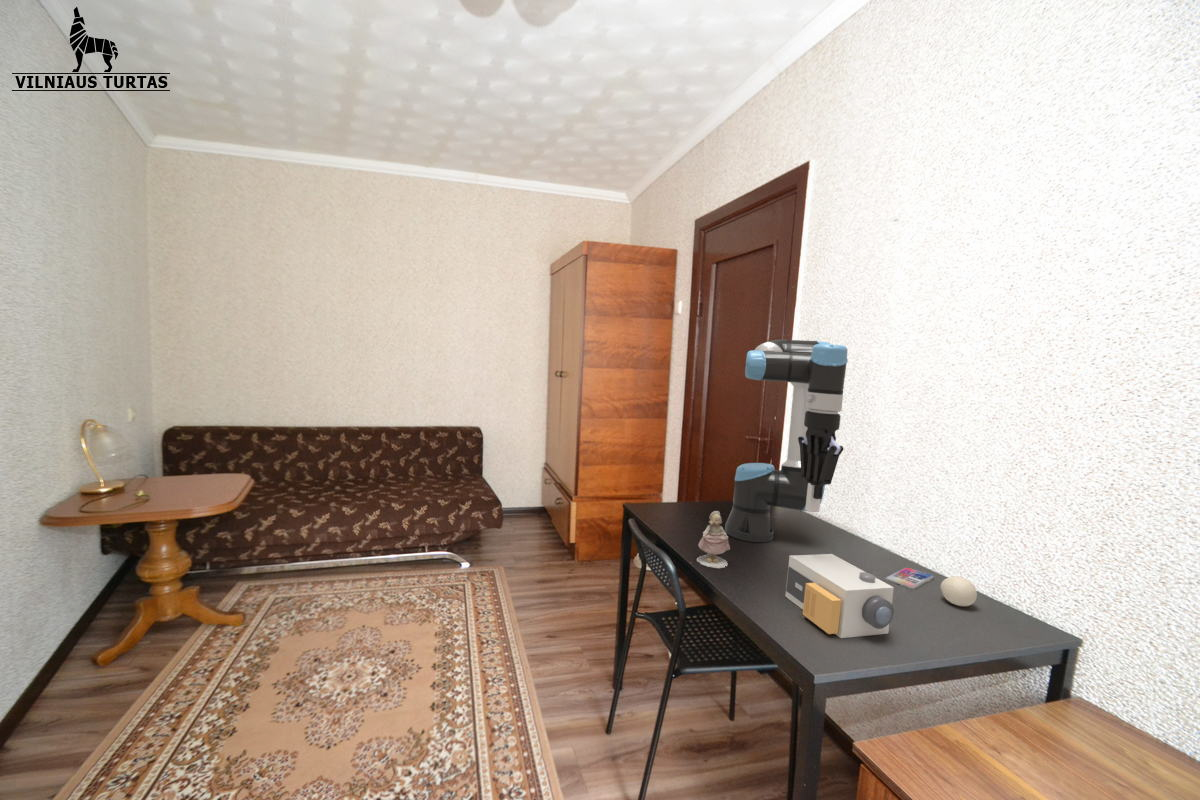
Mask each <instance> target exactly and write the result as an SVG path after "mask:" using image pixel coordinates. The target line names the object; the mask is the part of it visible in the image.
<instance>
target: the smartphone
mask: <svg viewBox="0 0 1200 800" xmlns="http://www.w3.org/2000/svg"><path fill="white" fill-rule="evenodd" d="M934 578H935V577H934V575H932V574H929V573H926V572H924V571H921V570H917V569H914V568H910V567H904V568H902V569H900V570H897V571H896V572H894V573H892V574H890V575H887V576H886V577H885V578H884V580H885V581H887V582H890V583H892V584H895V585H899V586H901V587H904V588H906V589H908V590H916V589H918V588H920V587H921V586H923V585H925V584H927V583H929V582H930V581H932V580H934Z"/></svg>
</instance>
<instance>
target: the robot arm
mask: <svg viewBox="0 0 1200 800" xmlns="http://www.w3.org/2000/svg"><path fill="white" fill-rule="evenodd" d="M848 362H849V361H848V348H847V346H845V345H844V344H843V345H841V344H831V343H830V342H829V341H828V342H827V341H819V340H803V339H801V340H800V339H798V340H797V339H774V340H769V341H766V342H762V343H761V344H759V345H757V346H756V347H755V349H754V350H749V351H747V353H746V360H745V369H744V376H745V377H746V378H747V379H749V380H756V381H770V382H771V381H772V382H773V381H774V382H786V383H790V384H791V385H792V386H793V392H792V402H791V412H790V423H789V424H790V426H789V433H788V434H789V435H788V446H787V456H786V461H784V462H782V464H781V469H779V470H778V469H775V466H774V465H773V464H771V463H767V462H749V463H743V464H740V465H739V466H737V468H736V470H735V476H734V491H733V496H732V497H733V499H732V508H731V510H730V512H729V515H728V517H727V519H726V522H725V524H724V525H725V526H724V532H725V533H726V534H727V536H730V537H732V538H735V539H738V540H741V541H745V542H751V543H769V542H772V540H773V539H774V529H773V524H772V520H771V515H770V511H771V507H777V508H780V509H781V508H782V509H789V510H795V511H800V512H809V513H819V512H820V508H821V504H822V501H823V497H824V494H825V490H826V489H825V488H826V486H827V485H828V486H829V485H831V484H832V480H833V477H834V474H835V472H836V471H835V470H836V468H837V465H838V462H839V459H840V458H839V457H840V455H841V454H842V452H843V451H844V446H843V445H839V444H838V443H837V442H836V440H837V438H836V431H838V430H840V425H841V415H840V412H842V410H843V409H842V408H843V399H844V389H845V388H844V386H845V378H846V371H847V363H848Z"/></svg>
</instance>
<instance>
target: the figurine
mask: <svg viewBox="0 0 1200 800" xmlns="http://www.w3.org/2000/svg"><path fill="white" fill-rule="evenodd" d="M708 523H709V524H708V525H707V526H706V528H705V530H704V531H702V537H701V538H700V540H699V542H698V547H699V550H701V551H702V552H704V553H707V554H704V555H699V556H698V557H697V558H696V562H698V563H699V564H700V565H701V566H702V565H703V566H706V567H708V568H713V569H722V568H726V567H728V564H729V563H728V561H727V560H726V559H724V558H722V557H720V556H717V555H721V554H724V553H725V552H726V551H730V550H731V547H730V546H731V545H730V543H729V535H728V534H727V533H726V532H725V529H724V527H723V526H722V525H721V524H723V521H722V516H721V513H720V511H719V510H714V511H712V512H711V513H710V515H709V521H708ZM689 563H690V564H692V562H689ZM725 566H726V567H725Z"/></svg>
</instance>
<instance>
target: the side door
mask: <svg viewBox="0 0 1200 800" xmlns="http://www.w3.org/2000/svg"><path fill="white" fill-rule="evenodd" d="M840 608H841V600H840V599H839V598H837V597H836V596H834V595H833V594H831V593H830V592H828V591H826V590H825V589H823V588H822V587H820V586H819V585H817V584H816V583H806V587H805V596H804V605H803V609H802V615H803V616H804V617H806V618H807V619H808V620H809V621H811V622H812V623H813V624H815V625H816V626H817V627H818V628H819V629H821V630H823V631H824V632H825V633H826V634H828V635H832V634H833V635H836V634H837V633H838V626H839V617H840Z"/></svg>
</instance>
